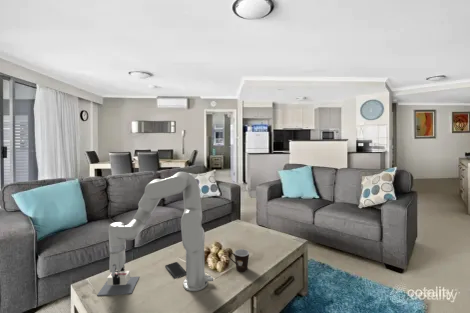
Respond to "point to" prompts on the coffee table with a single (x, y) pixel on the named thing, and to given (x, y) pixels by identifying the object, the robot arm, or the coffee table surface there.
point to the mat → (119, 288)
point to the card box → (123, 278)
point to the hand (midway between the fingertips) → (119, 280)
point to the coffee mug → (241, 259)
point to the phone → (175, 270)
